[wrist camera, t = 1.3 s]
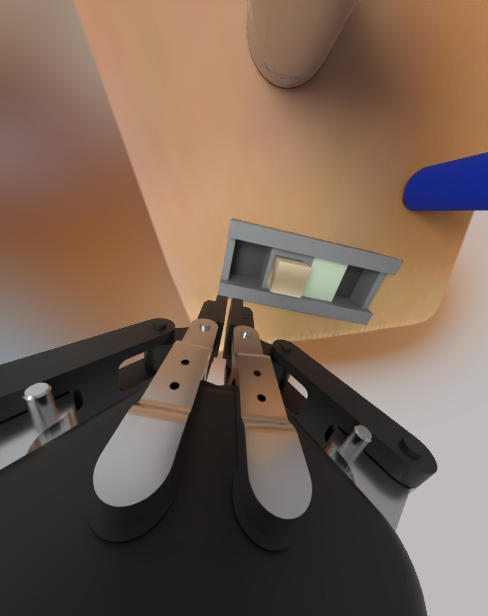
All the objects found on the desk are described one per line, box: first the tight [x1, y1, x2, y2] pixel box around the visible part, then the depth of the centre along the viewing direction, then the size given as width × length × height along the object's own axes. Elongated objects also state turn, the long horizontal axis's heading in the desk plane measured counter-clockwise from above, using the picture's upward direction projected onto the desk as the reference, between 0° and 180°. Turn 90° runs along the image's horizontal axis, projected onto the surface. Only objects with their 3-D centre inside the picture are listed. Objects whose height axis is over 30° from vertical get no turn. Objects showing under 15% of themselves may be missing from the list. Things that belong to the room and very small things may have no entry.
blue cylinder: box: [403, 152, 488, 211], centre depth 20 cm, size 5×5×15 cm
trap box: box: [218, 218, 403, 325], centre depth 29 cm, size 10×23×6 cm, turn 78°
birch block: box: [267, 254, 312, 298], centre depth 26 cm, size 4×4×4 cm
